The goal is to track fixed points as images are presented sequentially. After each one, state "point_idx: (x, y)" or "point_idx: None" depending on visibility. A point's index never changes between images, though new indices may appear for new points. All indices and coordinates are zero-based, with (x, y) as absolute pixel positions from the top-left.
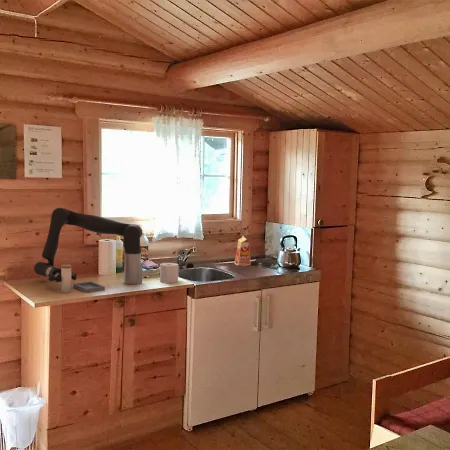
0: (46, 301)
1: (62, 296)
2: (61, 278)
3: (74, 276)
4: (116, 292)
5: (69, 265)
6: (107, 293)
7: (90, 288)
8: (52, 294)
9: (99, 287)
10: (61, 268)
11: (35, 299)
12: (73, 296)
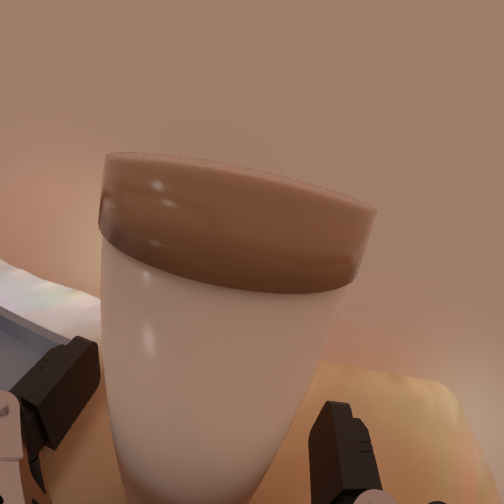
0: (406, 379)
1: (299, 412)
2: (275, 453)
3: (95, 343)
4: (25, 277)
5: (213, 162)
6: (58, 293)
7: (63, 337)
8: None
9: (11, 313)
10: (345, 288)
11: (458, 429)
12: None
